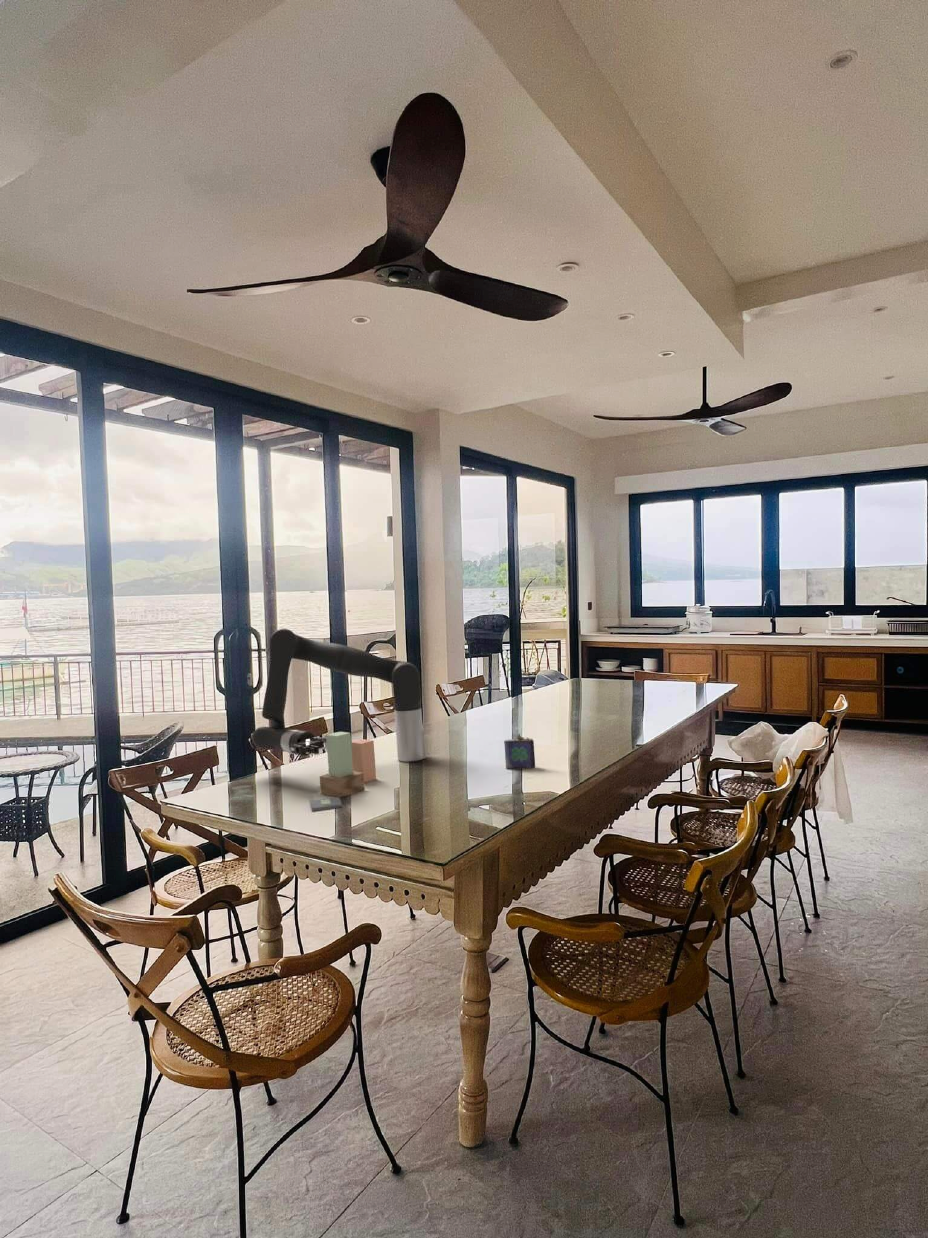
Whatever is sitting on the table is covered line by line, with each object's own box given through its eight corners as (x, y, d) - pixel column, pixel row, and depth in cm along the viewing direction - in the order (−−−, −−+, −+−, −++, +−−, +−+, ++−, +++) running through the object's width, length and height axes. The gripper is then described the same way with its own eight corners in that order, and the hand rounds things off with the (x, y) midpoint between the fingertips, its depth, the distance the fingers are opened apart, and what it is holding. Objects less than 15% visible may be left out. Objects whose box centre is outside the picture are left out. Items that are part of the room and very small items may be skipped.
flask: (505, 769, 222) (503, 735, 222) (506, 767, 225) (504, 733, 224) (535, 769, 220) (533, 734, 220) (535, 766, 223) (533, 732, 223)
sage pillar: (342, 771, 212) (339, 731, 212) (353, 773, 209) (350, 733, 209) (329, 775, 209) (326, 734, 208) (339, 777, 205) (336, 736, 205)
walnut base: (345, 785, 215) (344, 769, 215) (364, 789, 209) (363, 772, 209) (320, 793, 209) (319, 776, 209) (339, 797, 203) (338, 780, 202)
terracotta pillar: (365, 777, 224) (363, 739, 224) (376, 779, 221) (373, 740, 221) (353, 780, 221) (350, 742, 220) (363, 783, 217) (360, 743, 217)
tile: (338, 799, 201) (338, 796, 201) (342, 807, 193) (341, 803, 193) (309, 803, 199) (309, 800, 198) (312, 811, 191) (311, 807, 191)
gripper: (277, 734, 217) (308, 739, 206) (316, 726, 228) (348, 730, 217) (279, 759, 218) (310, 765, 207) (317, 749, 228) (349, 754, 217)
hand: (329, 747), depth 212 cm, fingers open, 8 cm apart
